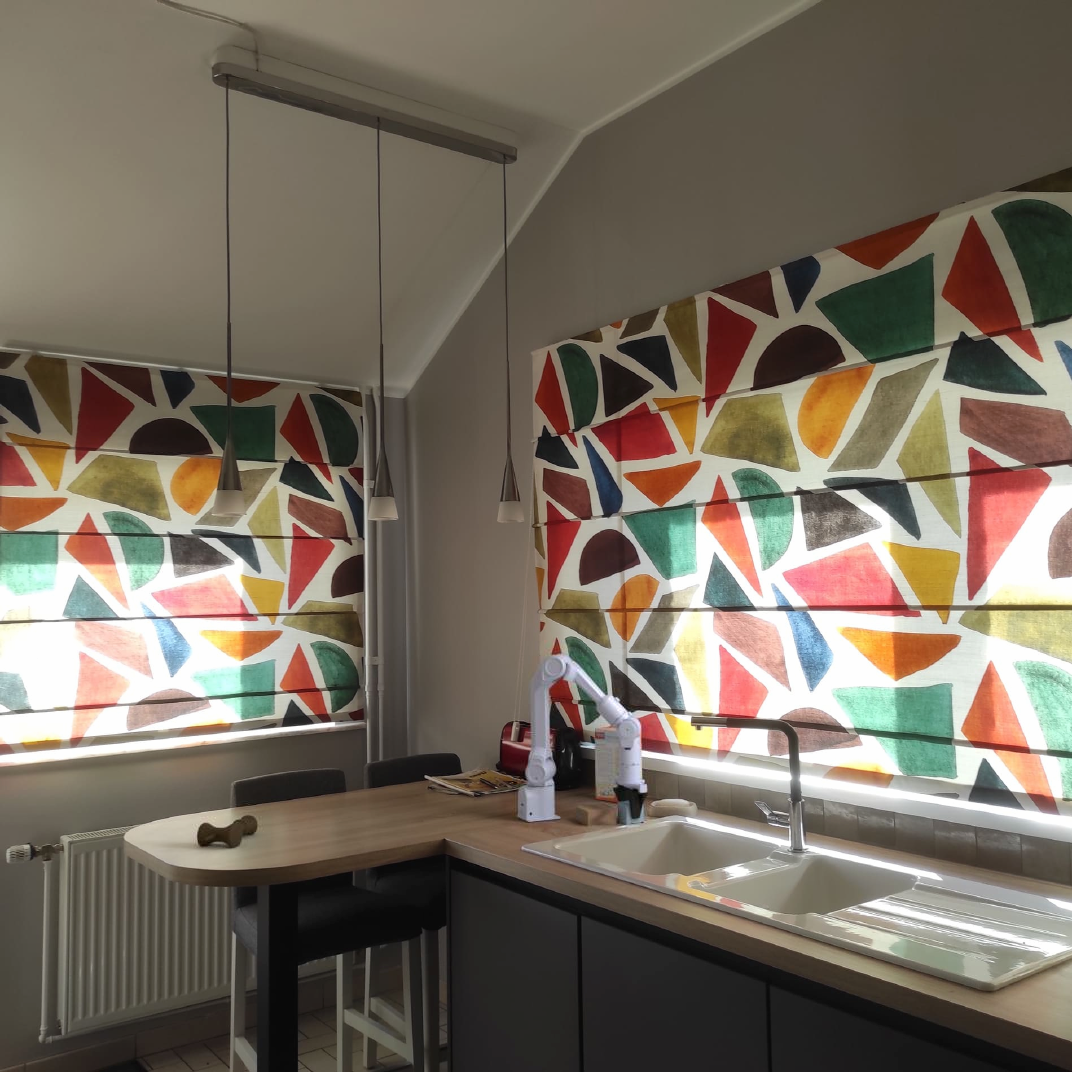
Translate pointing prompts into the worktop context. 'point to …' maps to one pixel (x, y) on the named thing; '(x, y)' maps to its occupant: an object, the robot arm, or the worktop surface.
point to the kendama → (227, 832)
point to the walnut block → (596, 815)
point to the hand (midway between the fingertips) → (630, 816)
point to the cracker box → (608, 762)
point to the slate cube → (627, 813)
